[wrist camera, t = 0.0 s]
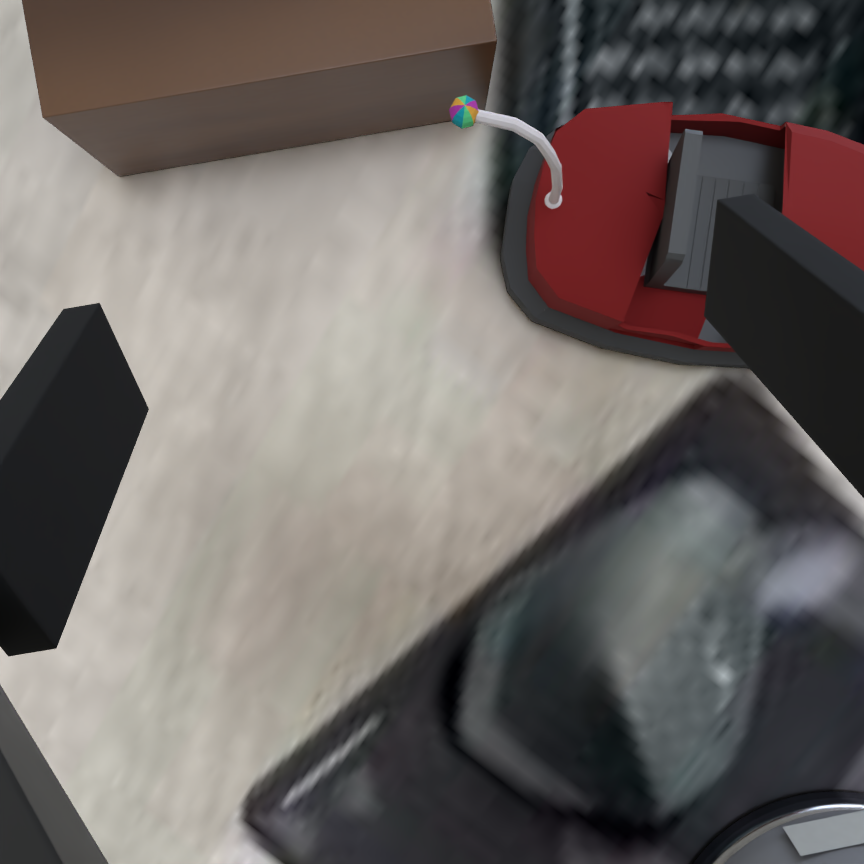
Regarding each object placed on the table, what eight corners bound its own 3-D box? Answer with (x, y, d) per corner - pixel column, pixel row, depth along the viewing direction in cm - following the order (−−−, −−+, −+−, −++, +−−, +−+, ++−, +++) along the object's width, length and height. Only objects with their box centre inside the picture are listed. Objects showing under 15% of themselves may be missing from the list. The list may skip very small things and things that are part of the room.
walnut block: (484, 115, 30) (497, 40, 24) (118, 177, 30) (42, 117, 24) (453, -71, 30) (459, -191, 24) (85, -9, 30) (1, -114, 24)
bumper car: (881, 393, 31) (1101, 381, 21) (426, 331, 31) (424, 288, 21) (915, 167, 30) (1153, 43, 20) (457, 103, 30) (470, -53, 20)
